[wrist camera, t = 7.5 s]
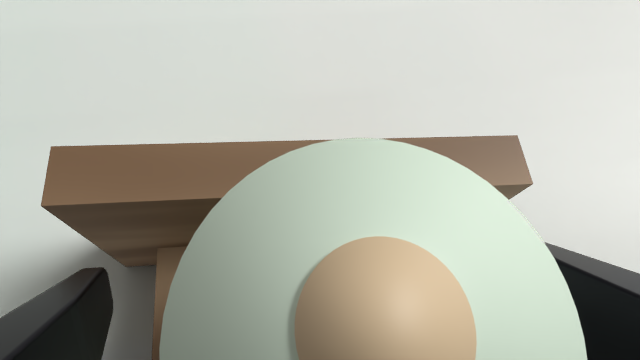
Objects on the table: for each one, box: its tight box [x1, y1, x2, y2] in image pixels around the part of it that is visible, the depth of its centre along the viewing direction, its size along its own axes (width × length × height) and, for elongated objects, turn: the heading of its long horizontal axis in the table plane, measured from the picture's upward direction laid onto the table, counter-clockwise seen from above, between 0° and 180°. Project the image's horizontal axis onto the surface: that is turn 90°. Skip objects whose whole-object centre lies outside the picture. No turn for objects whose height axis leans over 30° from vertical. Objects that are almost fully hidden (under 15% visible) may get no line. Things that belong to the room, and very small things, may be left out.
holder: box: [41, 135, 533, 360], centre depth 13 cm, size 10×13×7 cm
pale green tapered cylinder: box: [159, 138, 587, 360], centre depth 10 cm, size 5×5×12 cm
